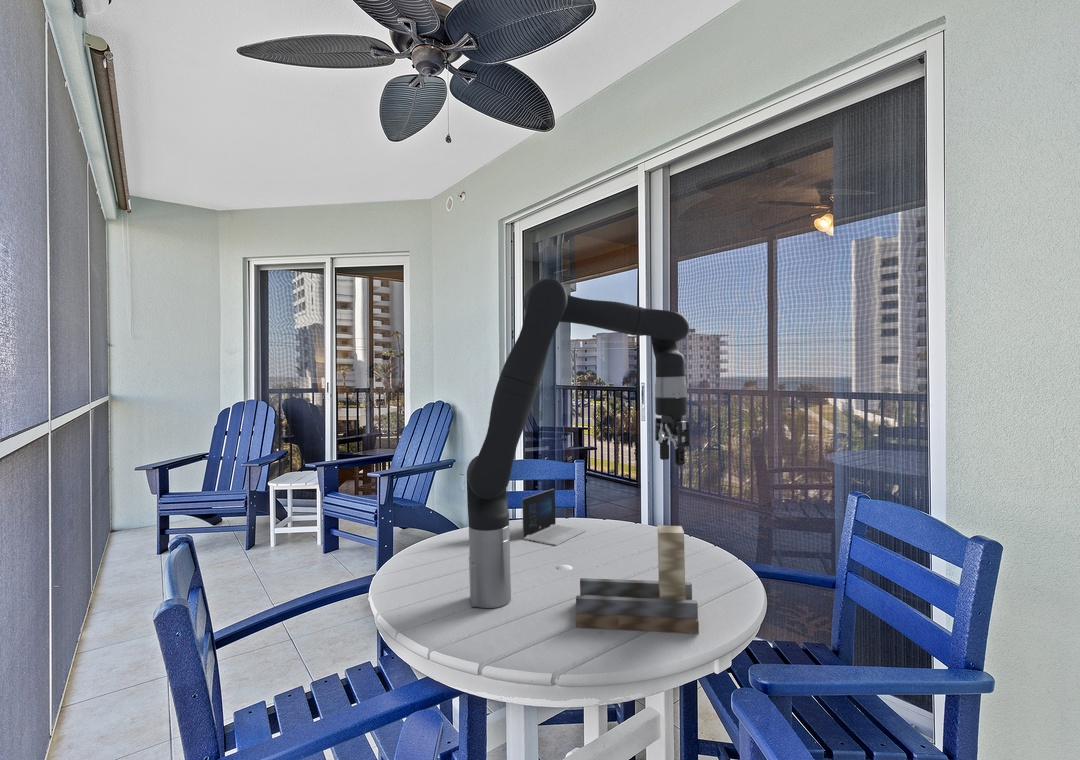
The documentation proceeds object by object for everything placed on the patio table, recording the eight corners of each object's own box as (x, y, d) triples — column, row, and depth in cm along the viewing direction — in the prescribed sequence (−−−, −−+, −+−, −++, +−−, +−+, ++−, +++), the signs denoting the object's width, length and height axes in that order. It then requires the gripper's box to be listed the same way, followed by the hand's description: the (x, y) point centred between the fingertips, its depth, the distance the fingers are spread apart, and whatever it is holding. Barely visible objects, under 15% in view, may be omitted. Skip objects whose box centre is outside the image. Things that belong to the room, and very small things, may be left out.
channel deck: (576, 627, 109) (575, 600, 109) (581, 600, 122) (580, 576, 122) (698, 633, 106) (698, 605, 105) (691, 605, 118) (690, 580, 118)
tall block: (660, 610, 111) (658, 532, 110) (659, 600, 115) (657, 525, 115) (685, 611, 110) (684, 532, 110) (683, 601, 115) (681, 526, 115)
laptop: (555, 547, 162) (554, 503, 161) (522, 540, 169) (521, 498, 169) (586, 532, 176) (585, 492, 176) (554, 526, 184) (553, 488, 183)
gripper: (644, 395, 138) (646, 458, 138) (668, 396, 124) (670, 467, 124) (672, 394, 139) (673, 457, 140) (699, 396, 125) (700, 465, 126)
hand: (672, 462), depth 132 cm, fingers open, 8 cm apart
